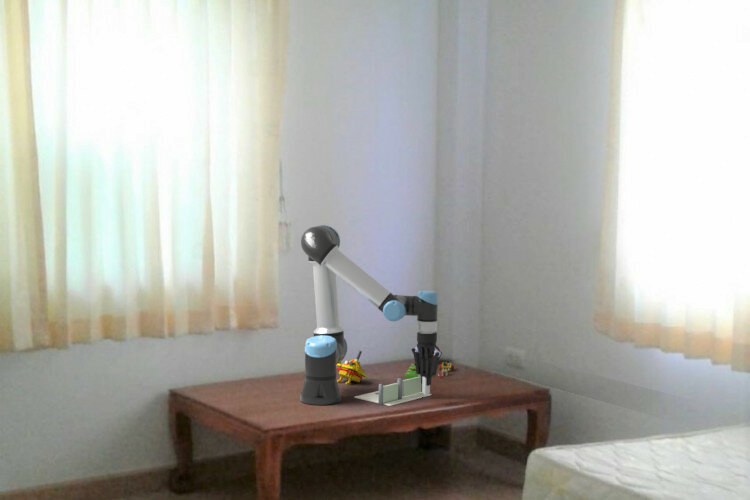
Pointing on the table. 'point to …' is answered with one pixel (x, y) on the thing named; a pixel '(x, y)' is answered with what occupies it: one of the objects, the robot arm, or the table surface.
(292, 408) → the table surface
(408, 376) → the toy garden set
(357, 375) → the toy
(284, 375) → the table surface
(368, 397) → the card
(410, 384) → the fence panel
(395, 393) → the fence fixed
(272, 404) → the table surface
